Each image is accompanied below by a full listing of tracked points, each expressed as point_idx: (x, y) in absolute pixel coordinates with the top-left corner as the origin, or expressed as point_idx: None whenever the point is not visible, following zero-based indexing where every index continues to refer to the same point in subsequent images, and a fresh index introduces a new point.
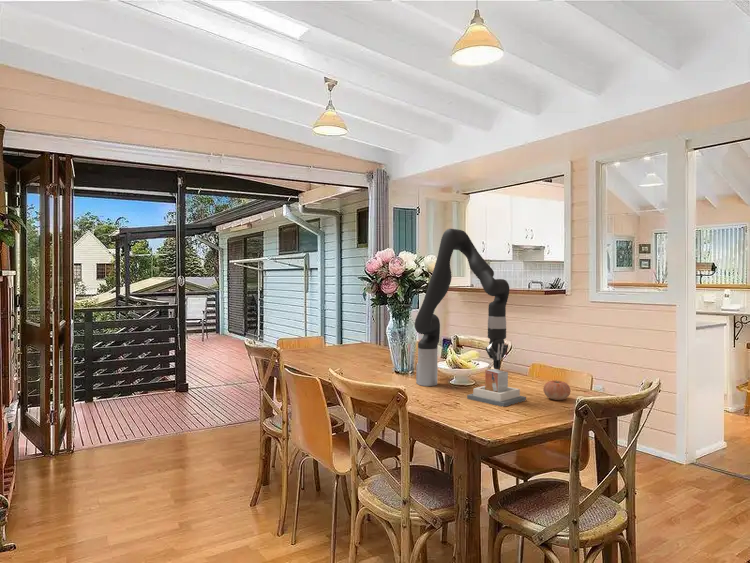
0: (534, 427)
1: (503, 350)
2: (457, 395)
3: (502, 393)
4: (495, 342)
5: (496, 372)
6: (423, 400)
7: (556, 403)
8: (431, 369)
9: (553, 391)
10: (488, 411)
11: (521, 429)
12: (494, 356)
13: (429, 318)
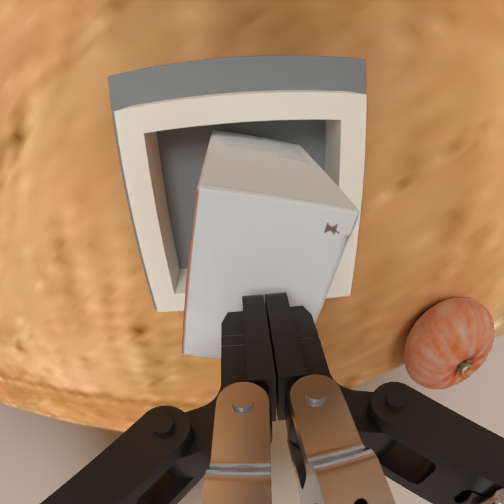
0: (102, 423)
1: (432, 493)
2: None
3: (176, 310)
4: None
5: (191, 338)
6: None
7: (375, 354)
8: None
9: (407, 366)
10: (63, 303)
11: (67, 414)
12: (163, 479)
13: None
